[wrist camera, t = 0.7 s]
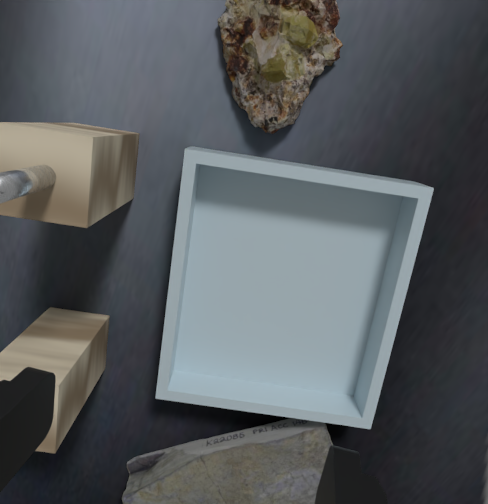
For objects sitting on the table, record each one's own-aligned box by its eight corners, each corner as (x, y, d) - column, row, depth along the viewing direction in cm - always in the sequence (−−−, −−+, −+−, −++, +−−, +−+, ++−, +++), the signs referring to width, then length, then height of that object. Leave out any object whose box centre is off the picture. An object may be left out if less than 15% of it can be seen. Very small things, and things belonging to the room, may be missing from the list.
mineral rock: (218, -64, 27) (354, -55, 26) (239, -39, 32) (359, -30, 30) (197, 124, 31) (317, 144, 29) (219, 124, 35) (326, 142, 33)
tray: (191, 146, 33) (185, 148, 29) (415, 181, 33) (433, 188, 30) (163, 373, 37) (155, 398, 34) (359, 401, 38) (370, 429, 34)
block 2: (49, 307, 36) (-24, 374, 26) (109, 315, 36) (58, 386, 26) (47, 360, 37) (-24, 443, 27) (104, 368, 37) (54, 454, 28)
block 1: (73, 122, 32) (-69, 121, 18) (139, 133, 32) (51, 140, 18) (69, 188, 34) (-67, 237, 19) (133, 198, 34) (46, 254, 19)
